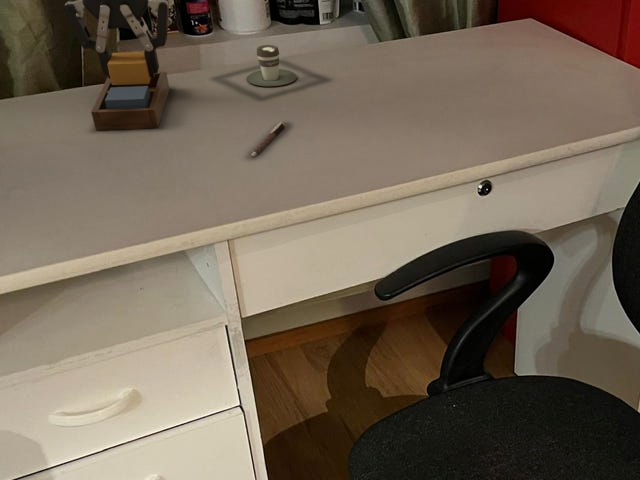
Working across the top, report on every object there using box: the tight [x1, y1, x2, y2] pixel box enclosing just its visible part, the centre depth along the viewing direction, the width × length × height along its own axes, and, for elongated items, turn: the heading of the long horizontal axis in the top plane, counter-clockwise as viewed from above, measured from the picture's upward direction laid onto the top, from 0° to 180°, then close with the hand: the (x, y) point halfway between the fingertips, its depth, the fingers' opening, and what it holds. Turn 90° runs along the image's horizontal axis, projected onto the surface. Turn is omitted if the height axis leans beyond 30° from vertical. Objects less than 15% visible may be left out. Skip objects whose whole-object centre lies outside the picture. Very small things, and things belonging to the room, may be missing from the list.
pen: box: [250, 121, 286, 158], centre depth 115 cm, size 11×1×1 cm, turn 169°
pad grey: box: [105, 86, 151, 110], centre depth 119 cm, size 5×5×3 cm
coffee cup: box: [246, 44, 298, 88], centre depth 133 cm, size 12×12×5 cm
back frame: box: [90, 71, 170, 131], centre depth 123 cm, size 8×15×3 cm, turn 10°
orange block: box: [107, 51, 151, 85], centre depth 123 cm, size 5×5×3 cm
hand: (132, 75), depth 124 cm, fingers closed on orange block, 5 cm apart
